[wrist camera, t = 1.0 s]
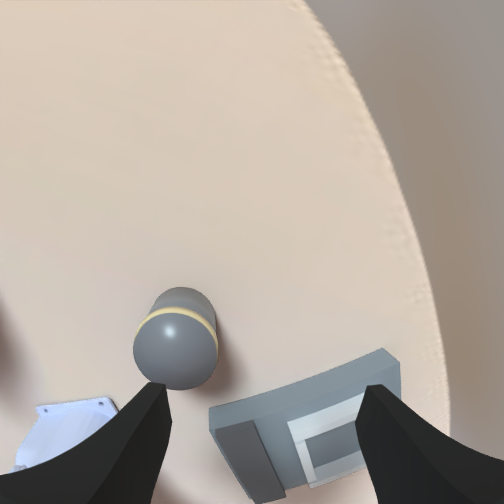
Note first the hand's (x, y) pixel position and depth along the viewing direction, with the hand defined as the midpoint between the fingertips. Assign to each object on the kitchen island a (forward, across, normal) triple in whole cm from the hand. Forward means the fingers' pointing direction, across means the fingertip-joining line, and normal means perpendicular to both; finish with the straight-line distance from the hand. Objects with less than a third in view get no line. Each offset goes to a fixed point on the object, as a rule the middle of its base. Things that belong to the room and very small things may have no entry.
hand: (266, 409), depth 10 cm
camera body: (+12, -5, +14) cm, 19 cm away
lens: (+12, +6, +3) cm, 13 cm away
